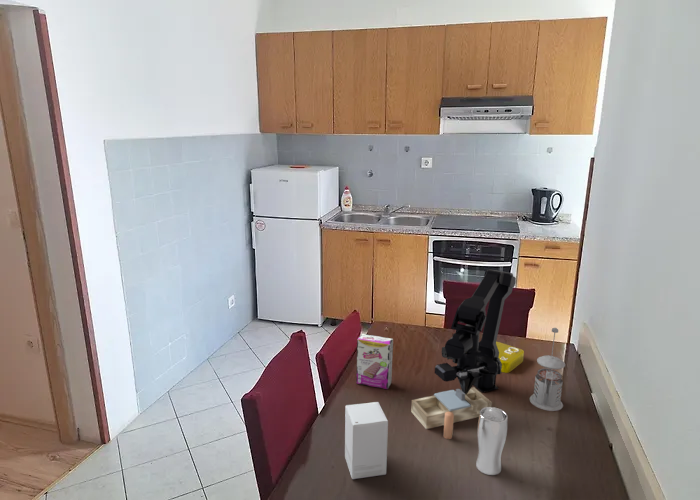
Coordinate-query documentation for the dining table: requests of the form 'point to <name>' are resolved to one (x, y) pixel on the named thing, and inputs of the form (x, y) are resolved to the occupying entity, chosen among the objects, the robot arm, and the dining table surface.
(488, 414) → the beer glass
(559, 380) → the french press
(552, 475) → the dining table surface
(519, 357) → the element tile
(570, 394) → the dining table surface
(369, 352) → the candy bar box
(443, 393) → the lid
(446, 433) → the peg
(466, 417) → the wooden compartment tray
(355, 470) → the supplement box
